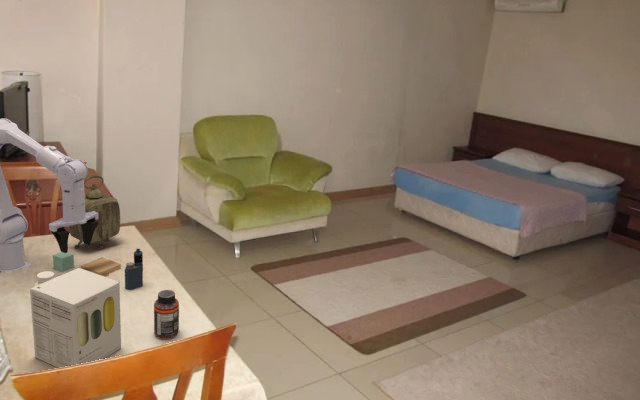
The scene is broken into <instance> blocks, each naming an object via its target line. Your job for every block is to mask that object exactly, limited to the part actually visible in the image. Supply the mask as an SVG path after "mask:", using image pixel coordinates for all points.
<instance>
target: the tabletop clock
mask: <svg viewBox="0 0 640 400" xmlns="http://www.w3.org/2000/svg"><path fill="white" fill-rule="evenodd" d="M96 178H97V179H101V182H100V184H98V185H96V183H93V184H92V185H91V186H87V185H86V183H87V181H88V180H90V179H96ZM104 180H105V179H104V178H103V177H102V176H100V175H91V176H87V177H86V178H85V179H84V189H88V190H87V191H86V193H85V213H88V212H93V211H94V212H97V213H98V219H96V221H98V226H97V227H96V229H95V231H94V233H93V236H92V240H91V243H98V245H97V249H98V250H101V249H103V244H101V241H104V242H105V241H106V242H107V241H109V238H110V239H111V238H113V237H116V236H117V235H118V234H120V233H119V232H120V229H121V208H120V204H119V201H118V199H117V198H115V197H113V196H111V195H108V194H105V193H103V192H102V191H101V189H98V188H99V187H101V186H103V184H104ZM67 229H68V232H70V233H69V236H71V237H72V238H75V239H76V240H78V241H79V242H78V243H77V244H75V245H74V249H76V250H77V249H80V245H82V244H83V243H84V241H83V231H82V227H81V224H76V225H72V226H69V227H67Z"/></svg>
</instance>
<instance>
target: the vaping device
mask: <svg viewBox="0 0 640 400" xmlns="http://www.w3.org/2000/svg"><path fill="white" fill-rule="evenodd" d="M143 257H144V254H143V251H141V249H140V248H136V249H135V251H134V252H133V262H126V265H125V268H124V289H125V290H126V291H131V290H135V289H139V288H142V287H143V286H144V285H143V283H144V279H143V278H144V274H143V273H144V264H143V263H144V262H143V261H144V259H143Z"/></svg>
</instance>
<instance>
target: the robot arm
mask: <svg viewBox="0 0 640 400" xmlns="http://www.w3.org/2000/svg"><path fill="white" fill-rule="evenodd" d="M6 144H11V145H13V146H15V147H17V148H18V149H21V150H22V151H23V152H24V151H25V152H26V153H28V154H30V155H32V156H34V157H35V161H36V163H37V164H39V165H40V166H42V167H44V168H45V169H46V170H48V171H50V172H51V173H53V174H54V175H55V176H56V178H57V180H58V182H59V185H60V188H61V199H62V217H61V218H59V219H57V220H55V221H53V222H50V223H48V227H49V229H48V230H49V231H50V233H51V234H52V236H54V238H55V240H56V243H57V244H58V247H59V251H60V252H63V253H67V252H68V253H69V236H70V232H69V230H66V228H68V227H69V226H72V225H76V224H81V227H82V231H83V241H84V242H83V244H84V245H86V246H90V245H91V240H92V236H93V233H94V231H95V229H96V227H97V226H98V221H96V219H98V213H97V212H94V211H93V212H88V213H85V194H86V193H85V190H86V189H85V187H84V181H85V179H87V178H88V174H89V169H88V166H87V164H86V163H85V162H84V161H83V160H82V159H79V158H75V159H73V158H71V156H67V155H65V154H64V153H62V152H61V151H59V150H58V149H57V147H56V146H54V145H53V146H51V145H46V146H44V145H42V144H40V142H38V141H36V140H35V139H33V138H32V137H31V136H29V135H28V134H27V133H25V132H24V131H22V130H21V129H20V128H19V127H18V124H16V123H14V122H12V121H11V120H10V119H8V118H5V117H4V118H0V149H2V147H3V146H4V145H6ZM28 228H29V222H28V220H27V218H26V217H25V215H24V214H23V211H22V210H21V209H20V208H19V207H17V206H14V205H13V202H12V198H11V195H10V192H9V188H8V185H7V182H6V179H5V175H4V173H3V169H2V166H1V164H0V272H1V273H6V274H8V273H11V272H14V271H18V270H20V269H23V268H25V267H28V266H32V263H30V262H28V261H26V260H25V259H26V257H25V248H24V247H25V246H24V237H25V232H27V230H28Z"/></svg>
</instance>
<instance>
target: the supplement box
mask: <svg viewBox="0 0 640 400" xmlns="http://www.w3.org/2000/svg"><path fill="white" fill-rule="evenodd" d="M29 294H30V295H29V296H30V306H31V307H30V308H31V318H32V321H31V322H32V333H33V334H32V336H33V346H34V358H36V359H38V360H41V361H42V362H45V363H47V364H49V365H50V366H54V367H56V368H58V367H65V366H71V365H76V364H81V363H86V362H91V361H95V360H99V359H103V358H104V359H105V358H107V357H109V356H110V355H112V354H114V353H115V352H116V351H119V350H120V349H121V348H122V333H121V331H122V330H121V329H122V328H121V327H122V326H121V325H122V324H121V293H120V281H117V280H115V279H113V278H109V277H108V276H107V277H104V276H101V275H98V274H95V273H93V272H90V271H87V270H84V269H81V267H77V268H75V269H73V270H70V271H68V272H66V273H63V274H61V275H58V276H56V277H55V278H53V279H51V280H49V281H47V282H44V283H42V284H39V285H37V286H35V285H34V286H33V287H30V288H29ZM104 359H103V360H104Z"/></svg>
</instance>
